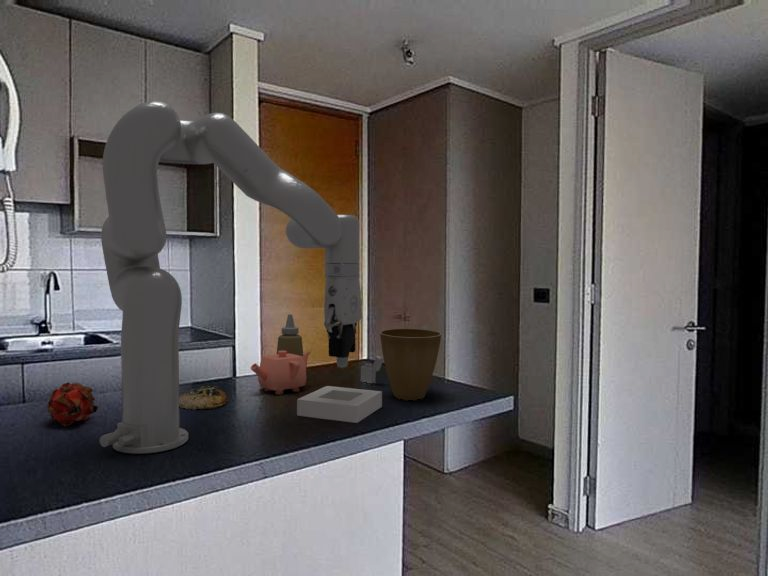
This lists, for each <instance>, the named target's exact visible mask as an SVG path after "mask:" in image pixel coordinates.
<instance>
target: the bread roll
mask: <svg viewBox="0 0 768 576" xmlns="http://www.w3.org/2000/svg"><path fill="white" fill-rule="evenodd" d="M228 401H229V400H228V396H227V394H226V392H224V391H223V390H221V389H220V388H219V387H218V386H210V385H209V386H208V385H207V386H204V385H201V386H200V387H199V388H192V389H190V390H189V391H188V392H186V393H183V394H181V395H179V407H180V408H179V409H183V408H185V409H184V410H191V409H192V410H193V411H194V410H195V411H196V409H200V410H205V409H208V410H209V409H211V410H213V409H218V408H221V407H223V406H225V405H226V404H227V403H228ZM212 408H213V409H212Z"/></svg>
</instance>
